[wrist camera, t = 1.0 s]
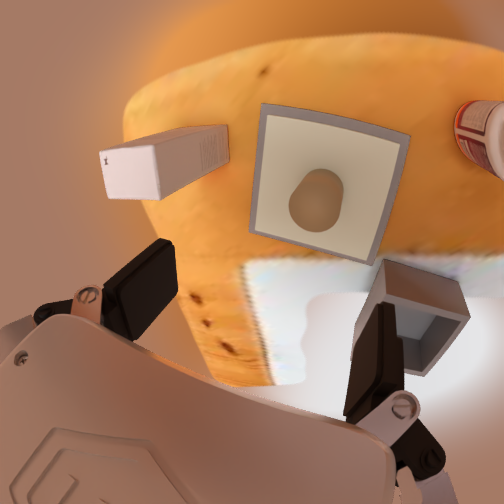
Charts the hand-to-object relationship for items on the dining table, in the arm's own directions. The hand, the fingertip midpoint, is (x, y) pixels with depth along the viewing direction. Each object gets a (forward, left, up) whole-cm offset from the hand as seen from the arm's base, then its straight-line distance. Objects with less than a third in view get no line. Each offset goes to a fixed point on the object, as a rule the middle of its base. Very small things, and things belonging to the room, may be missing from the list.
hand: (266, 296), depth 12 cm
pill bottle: (-14, -10, -17) cm, 25 cm away
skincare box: (+13, -2, -17) cm, 22 cm away
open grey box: (-13, +11, -17) cm, 24 cm away
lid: (0, 0, -17) cm, 17 cm away
